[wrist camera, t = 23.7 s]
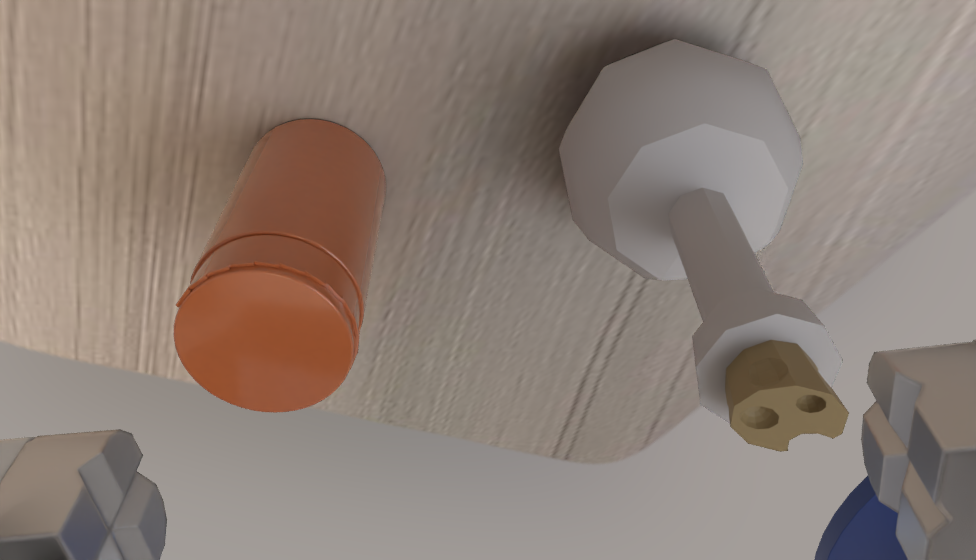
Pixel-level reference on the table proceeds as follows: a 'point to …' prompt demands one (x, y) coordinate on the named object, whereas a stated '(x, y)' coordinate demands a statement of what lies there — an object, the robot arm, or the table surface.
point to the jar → (286, 271)
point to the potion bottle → (707, 224)
